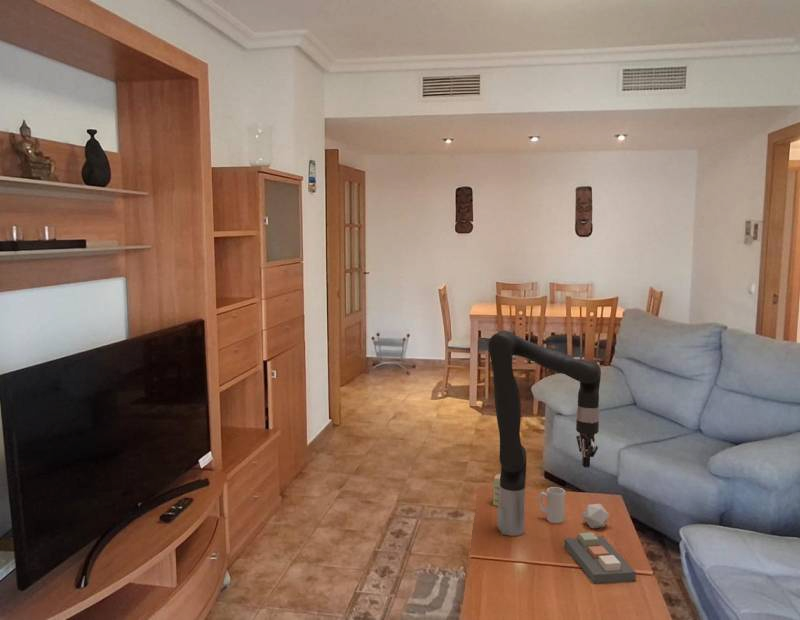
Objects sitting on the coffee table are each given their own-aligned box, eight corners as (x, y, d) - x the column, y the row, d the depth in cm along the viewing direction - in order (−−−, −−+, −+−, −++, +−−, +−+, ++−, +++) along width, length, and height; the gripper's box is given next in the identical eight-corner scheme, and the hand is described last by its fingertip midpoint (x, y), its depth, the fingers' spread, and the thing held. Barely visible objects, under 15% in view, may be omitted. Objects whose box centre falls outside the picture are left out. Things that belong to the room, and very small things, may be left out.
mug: (563, 516, 239) (564, 487, 238) (565, 524, 233) (566, 494, 232) (537, 515, 241) (537, 485, 240) (538, 522, 234) (538, 492, 233)
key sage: (584, 550, 210) (584, 539, 209) (578, 543, 215) (578, 533, 214) (598, 550, 210) (598, 539, 210) (591, 543, 215) (592, 532, 215)
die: (607, 535, 226) (616, 509, 229) (586, 523, 226) (595, 498, 229) (595, 533, 234) (605, 508, 237) (575, 521, 234) (585, 497, 237)
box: (521, 504, 251) (522, 477, 249) (517, 510, 245) (518, 482, 244) (496, 500, 255) (497, 473, 254) (492, 505, 250) (493, 477, 249)
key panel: (593, 583, 192) (593, 574, 192) (564, 546, 216) (564, 538, 215) (635, 580, 194) (636, 571, 193) (601, 544, 217) (602, 536, 217)
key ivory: (605, 575, 194) (605, 563, 194) (598, 567, 199) (598, 555, 198) (620, 574, 195) (620, 562, 194) (612, 566, 200) (613, 555, 199)
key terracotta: (594, 565, 202) (594, 554, 202) (587, 557, 207) (588, 546, 206) (608, 564, 203) (609, 553, 202) (601, 557, 208) (602, 545, 207)
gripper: (569, 413, 218) (568, 460, 220) (585, 424, 205) (583, 474, 207) (589, 413, 219) (588, 459, 221) (606, 423, 206) (604, 473, 207)
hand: (585, 466), depth 214 cm, fingers closed
